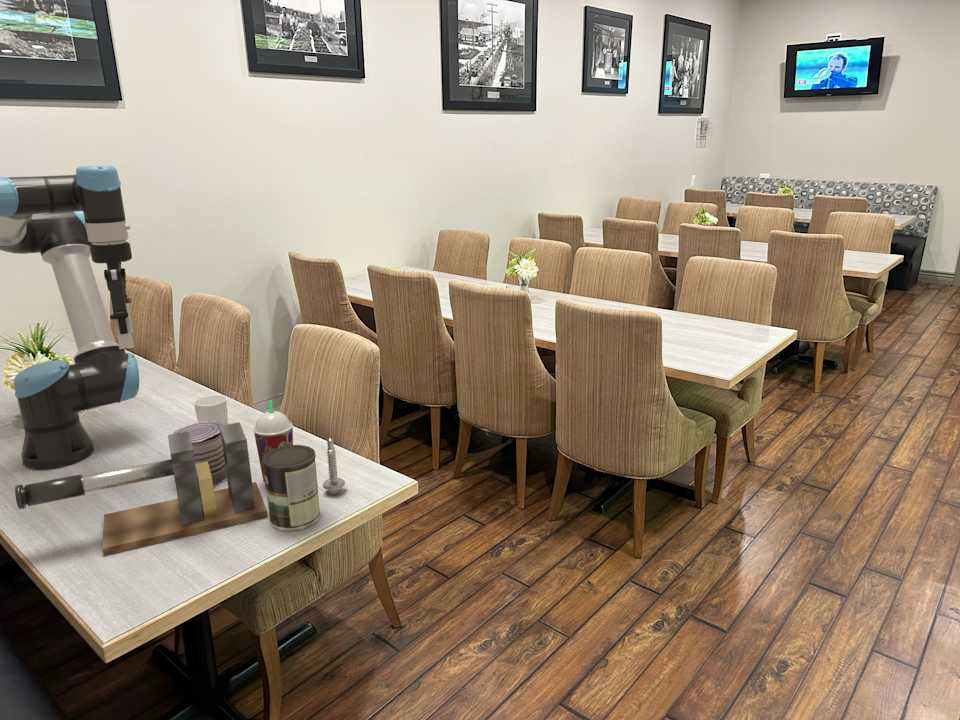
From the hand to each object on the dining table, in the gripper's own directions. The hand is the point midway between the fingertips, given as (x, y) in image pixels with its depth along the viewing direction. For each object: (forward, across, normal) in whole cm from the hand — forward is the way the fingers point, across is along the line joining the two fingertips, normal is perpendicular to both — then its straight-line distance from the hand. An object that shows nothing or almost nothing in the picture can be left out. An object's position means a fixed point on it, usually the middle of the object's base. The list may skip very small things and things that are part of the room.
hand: (126, 340), depth 149 cm
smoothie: (+33, -18, -26) cm, 46 cm away
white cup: (+33, +17, -16) cm, 40 cm away
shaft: (+23, -25, +7) cm, 35 cm away
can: (+33, -7, -11) cm, 35 cm away
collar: (+27, -25, -10) cm, 38 cm away
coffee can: (+33, -35, -26) cm, 55 cm away
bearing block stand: (+33, -25, -6) cm, 42 cm away
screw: (+33, -28, -36) cm, 56 cm away
